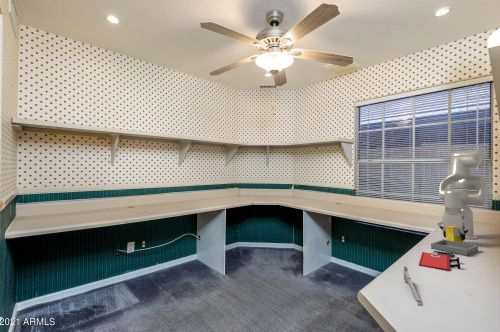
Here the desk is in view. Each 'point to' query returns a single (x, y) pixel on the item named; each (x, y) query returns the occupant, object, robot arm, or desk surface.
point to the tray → (454, 247)
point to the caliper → (411, 285)
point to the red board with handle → (438, 260)
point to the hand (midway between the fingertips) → (454, 238)
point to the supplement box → (453, 234)
